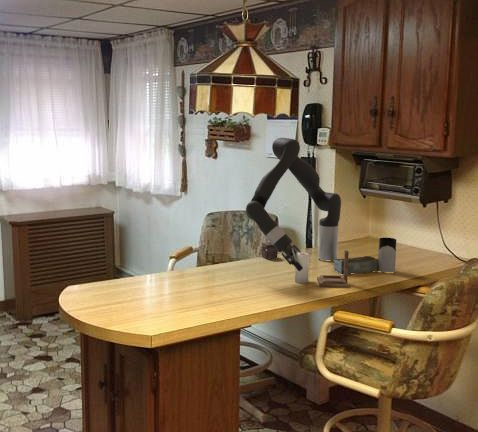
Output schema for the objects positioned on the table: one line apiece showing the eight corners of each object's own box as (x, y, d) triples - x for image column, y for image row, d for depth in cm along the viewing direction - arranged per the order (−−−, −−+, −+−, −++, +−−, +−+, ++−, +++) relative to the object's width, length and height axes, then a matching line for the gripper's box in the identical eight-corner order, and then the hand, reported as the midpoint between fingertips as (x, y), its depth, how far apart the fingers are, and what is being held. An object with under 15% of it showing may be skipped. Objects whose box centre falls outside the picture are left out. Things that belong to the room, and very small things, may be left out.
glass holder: (376, 272, 265) (377, 240, 263) (376, 265, 279) (378, 234, 276) (396, 274, 263) (398, 241, 261) (395, 266, 277) (397, 235, 274)
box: (261, 257, 293) (261, 242, 292) (271, 256, 296) (272, 241, 295) (266, 259, 288) (267, 245, 287) (277, 258, 290) (278, 244, 289)
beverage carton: (332, 271, 268) (333, 257, 267) (369, 268, 274) (370, 254, 273) (341, 275, 260) (341, 261, 259) (378, 272, 266) (379, 258, 265)
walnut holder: (316, 279, 253) (318, 247, 251) (344, 279, 253) (346, 248, 251) (319, 287, 241) (321, 253, 239) (349, 287, 241) (350, 254, 239)
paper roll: (294, 279, 252) (295, 251, 250) (307, 279, 252) (308, 252, 250) (295, 283, 247) (296, 254, 245) (308, 283, 247) (309, 255, 245)
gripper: (279, 236, 242) (305, 265, 240) (289, 230, 256) (314, 258, 253) (267, 247, 245) (293, 277, 243) (278, 241, 258) (302, 269, 256)
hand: (304, 267), depth 248 cm, fingers open, 8 cm apart
